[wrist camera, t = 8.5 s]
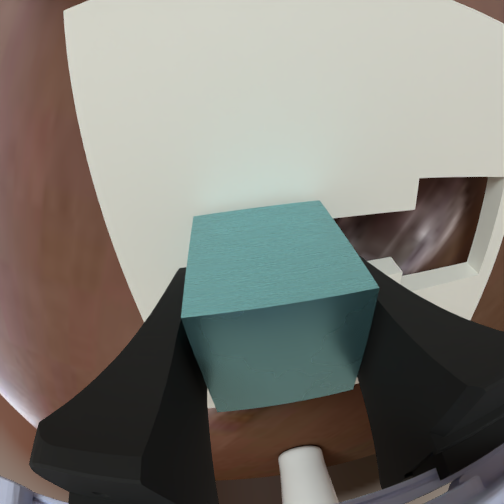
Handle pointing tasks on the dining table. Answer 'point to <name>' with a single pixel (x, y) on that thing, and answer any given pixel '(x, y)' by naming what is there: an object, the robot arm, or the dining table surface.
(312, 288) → the peg
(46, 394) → the dining table surface
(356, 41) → the keyhole plate
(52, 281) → the dining table surface
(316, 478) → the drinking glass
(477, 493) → the robot arm
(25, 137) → the dining table surface
